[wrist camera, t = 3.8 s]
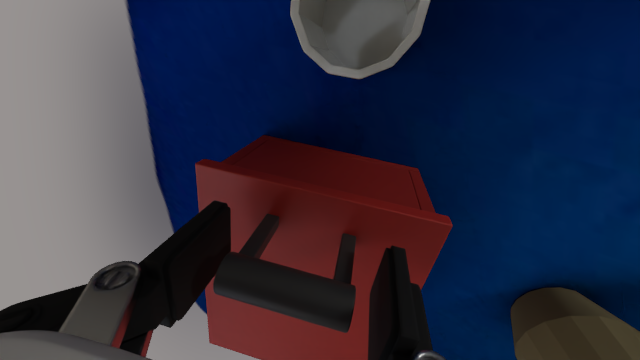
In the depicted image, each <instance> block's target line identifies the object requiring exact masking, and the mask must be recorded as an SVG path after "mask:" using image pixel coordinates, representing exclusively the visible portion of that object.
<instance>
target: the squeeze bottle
mask: <svg viewBox="0 0 640 360" xmlns="http://www.w3.org/2000/svg"><path fill="white" fill-rule="evenodd" d="M511 323H512V331H513V339H514V348H515V356H516V358H517V360H640V332H639V331H638V330H636V329H635V328H633V327H632V326H630V325H628V324H627V323H625V322H624V321H622V320H621V319H619V318H617V317H616V316H614V315H613V314H611V313H610V312H608V311H606V310H605V309H603V308H602V307H600V306H598V305H597V304H595V303H594V302H592V301H591V300H589V299H587V298H586V297H584V296H583V295H581V294H579V293H578V292H576V291H573V290H569V289H564V288H542V289H538V290H534V291H531V292H528V293H526V294H525V295H523V296H521V297H520V298H518V299H517V300H516V301H515V303H514V304H513V306H512V307H511Z"/></svg>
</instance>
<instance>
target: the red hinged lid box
mask: <svg viewBox="0 0 640 360" xmlns="http://www.w3.org/2000/svg"><path fill="white" fill-rule="evenodd" d="M221 163H225V164H229V165H233V166H238V167H242V168H246V169H250V170H255V171H259V172H263V173H267V174H272V175H276V176H280V177H284V178H288V179H293V180H297V181H301V182H305V183H310V184H314V185H318V186H322V187H327V188H331V189H335V190H339V191H343V192H348V193H352V194H356V195H360V196H365V197H369V198H373V199H377V200H382V201H386V202H390V203H394V204H398V205H403V206H407V207H411V208H415V209H420V210H424V211H428V212H432V213H435V210H434V208H433V205H432V203H431V200H430V198H429V195H428V193H427V190H426V188H425V185H424V183H423V180H422V178H421V175H420V173H419V170H418V168H413V167H409V166H404V165H399V164H395V163H390V162H386V161H381V160H377V159H372V158H367V157H363V156H358V155H354V154H349V153H344V152H340V151H335V150H331V149H326V148H322V147H317V146H312V145H308V144H303V143H299V142H294V141H289V140H285V139H280V138H276V137H271V136H267V135H262V136H261V137H260V138H258V139H257V140H255V141H253V142H252V143H250V144H249V145H247V146H246V147H244V148H243V149H241V150H239V151H238V152H236V153H235V154H233V155H232V156H230V157H228V158H227V159H225V160H224V161H222V162H221Z"/></svg>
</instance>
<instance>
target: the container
mask: <svg viewBox="0 0 640 360" xmlns="http://www.w3.org/2000/svg"><path fill="white" fill-rule="evenodd" d="M429 4H430V0H291V10H290V15H291V19H292V22H293V24H294V27H295V30H296V33H297V36H298V38H299V41H300V44H301V47H302V50H303V51H304V52H305V53H306V54H307V55H308V56H309V57H310V58H311V59H312V60H314V61H315V62H316V63H317V64H318V65H319V66H320V67H321V68H322V69H323V70H324V71H326V72H327V73H328V74H333V75H338V76H344V77H349V78H355V79H362V78H365V77H367V76H370V75H372V74H375V73H378V72H380V71H383V70H385V69H388V68H391V67H392V66H394V65H395V64H396V62H397V61H398V60H399V59H400V58H401V57H402V56H403V54H404V53H405V52H406V51H407V50H408V49H409V48H410V46H411V45H412V44H413V43H414V42H415V41H416V40H417V39H418V37H419V36H420V34H421V31H422V28H423V24H424V21H425V17H426V14H427V11H428V7H429Z"/></svg>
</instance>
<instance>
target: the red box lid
mask: <svg viewBox="0 0 640 360" xmlns="http://www.w3.org/2000/svg"><path fill="white" fill-rule="evenodd" d="M195 167H196V179H197V192H198V204H199V212H201V211H202V210H203V209H204V208H205V207H206V206H208V205H209V204H210V203H211V202H212V201H214V200H216V201H220V202H224V203H227V205H228V207H230V209H231V252H229V253H228V254H227V255H226V256H225V257H224V258H223V260H222V261H221V263H220V265H219V267H218V269H217V272H216V274H215V276H214V277H213V278H212V280H211V281H210V282H209V284H208V285H207V286H206V288H205V292H206V304H207V316H208V328H209V341H210V343H212V344H215V345H218V346H221V347H224V348H227V349H230V350H233V351H236V352H239V353H242V354H245V355H248V356H252V357H254V358H258V359H261V360H368V334H369V298H370V291H371V287H372V285H373V282H374V279H375V276H376V274H377V271H378V268H379V265H380V262H381V260H382V257H383V254H384V251H385V249H386V248H390V247H391V246H392V245H393V246H397V247H400V248H404V249H405V250H406V256H407V263H408V269H409V275H410V281H411V283H415V284H418V285H419V286H420V289H422V287H423V285H424V283H425V281H426V279H427V277H428V275H429V273H430V271H431V269H432V267H433V265H434V263H435V260H436V258H437V256H438V254H439V252H440V250H441V248H442V246H443V244H444V242H445V240H446V238H447V236H448V234H449V232H450V230H451V228H452V223H451V221H450V219H449V217H448V216H445V215H441V214H437V213H432V212H428V211H424V210H420V209H415V208H411V207H407V206H403V205H398V204H394V203H390V202H386V201H382V200H377V199H373V198H369V197H365V196H360V195H356V194H352V193H348V192H343V191H339V190H335V189H331V188H327V187H322V186H318V185H314V184H310V183H305V182H301V181H297V180H293V179H288V178H284V177H280V176H276V175H272V174H267V173H263V172H259V171H255V170H250V169H246V168H242V167H238V166H233V165H229V164H225V163H221V162H217V161H212V160H208V159H203V160H201V161H199V162H197V163H196V164H195Z"/></svg>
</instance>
